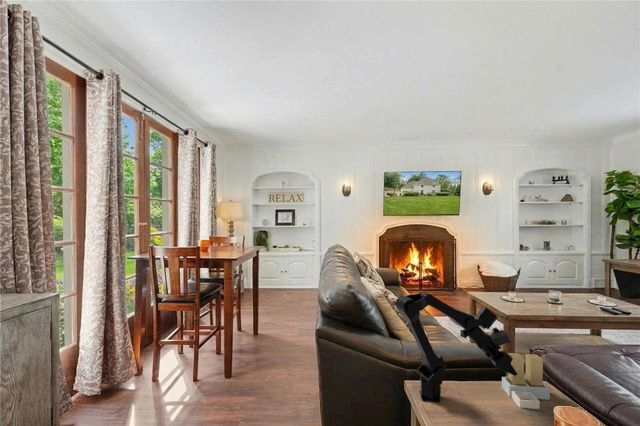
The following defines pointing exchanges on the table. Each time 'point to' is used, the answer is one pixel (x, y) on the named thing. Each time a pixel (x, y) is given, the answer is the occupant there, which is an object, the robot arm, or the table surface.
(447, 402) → the table surface
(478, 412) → the table surface
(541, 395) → the two-compartment pale blue organizer
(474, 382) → the table surface
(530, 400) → the box
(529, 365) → the seated billet
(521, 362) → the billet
